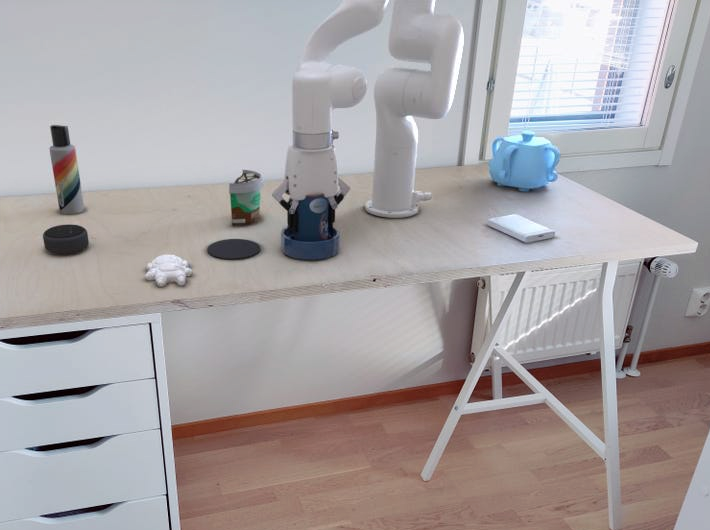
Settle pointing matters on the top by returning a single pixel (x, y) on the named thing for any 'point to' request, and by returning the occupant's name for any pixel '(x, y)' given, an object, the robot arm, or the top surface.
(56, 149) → the lotion bottle
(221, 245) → the coaster
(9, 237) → the top surface
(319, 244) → the bowl
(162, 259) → the astronaut figurine
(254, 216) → the food container
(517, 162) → the decorative pot
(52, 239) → the smart speaker
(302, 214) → the soda can
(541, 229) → the hard drive
